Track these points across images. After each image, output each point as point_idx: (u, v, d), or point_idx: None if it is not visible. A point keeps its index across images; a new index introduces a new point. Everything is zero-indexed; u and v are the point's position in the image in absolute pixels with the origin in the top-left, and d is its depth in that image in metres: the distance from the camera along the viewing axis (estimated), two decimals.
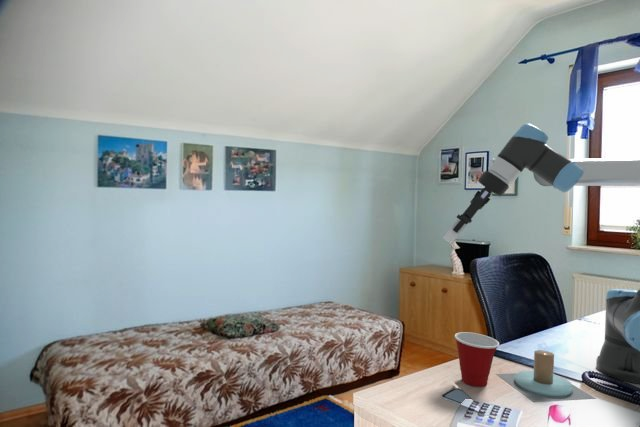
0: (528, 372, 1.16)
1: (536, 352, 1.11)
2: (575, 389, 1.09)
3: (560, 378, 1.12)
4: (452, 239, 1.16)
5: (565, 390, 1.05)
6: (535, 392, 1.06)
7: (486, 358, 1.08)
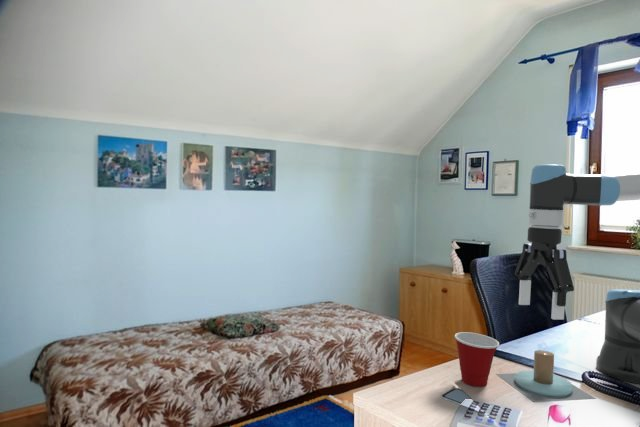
0: (528, 372, 1.16)
1: (536, 352, 1.11)
2: (575, 389, 1.09)
3: (560, 378, 1.12)
4: (562, 314, 1.04)
5: (565, 390, 1.05)
6: (535, 392, 1.06)
7: (486, 358, 1.08)
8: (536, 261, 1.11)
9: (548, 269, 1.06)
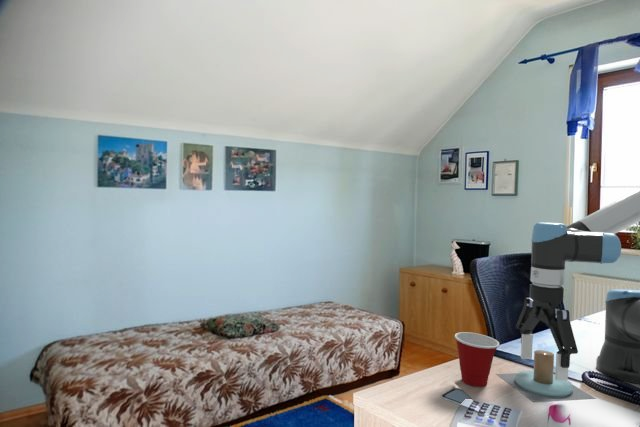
0: (528, 372, 1.16)
1: (536, 352, 1.11)
2: (575, 389, 1.09)
3: None
4: (566, 374, 1.04)
5: (565, 390, 1.05)
6: (535, 392, 1.06)
7: (486, 358, 1.08)
8: (538, 318, 1.11)
9: (551, 329, 1.06)
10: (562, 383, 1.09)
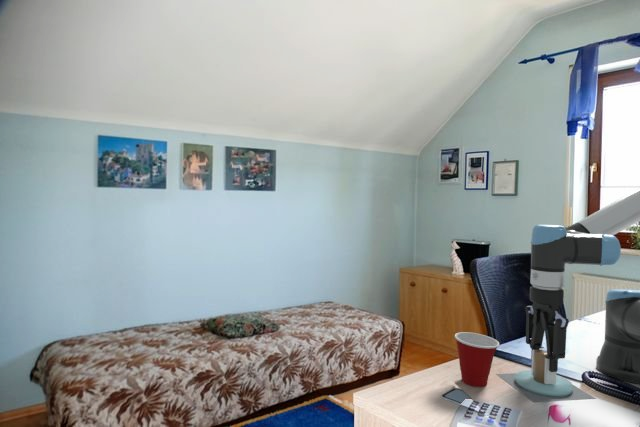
0: (528, 371, 1.16)
1: (536, 352, 1.11)
2: (575, 389, 1.09)
3: (560, 378, 1.12)
4: (554, 378, 1.08)
5: (565, 390, 1.05)
6: (535, 392, 1.06)
7: (486, 358, 1.08)
8: (539, 320, 1.11)
9: (546, 332, 1.08)
10: (562, 383, 1.09)
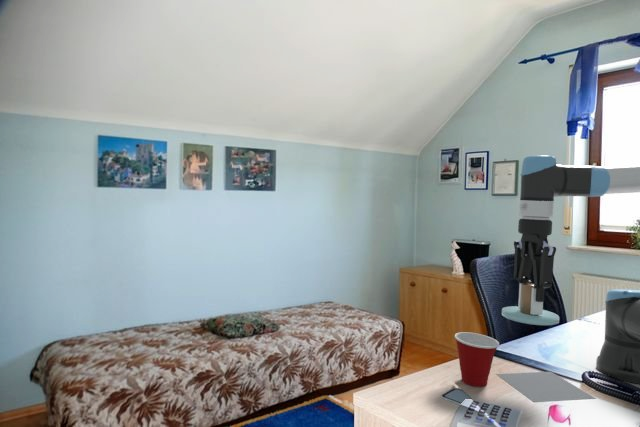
0: (515, 307, 1.16)
1: (523, 284, 1.11)
2: (575, 389, 1.09)
3: (547, 311, 1.12)
4: (540, 309, 1.08)
5: (551, 319, 1.05)
6: (521, 321, 1.06)
7: (486, 358, 1.08)
8: (527, 253, 1.11)
9: (533, 263, 1.08)
10: (549, 315, 1.09)
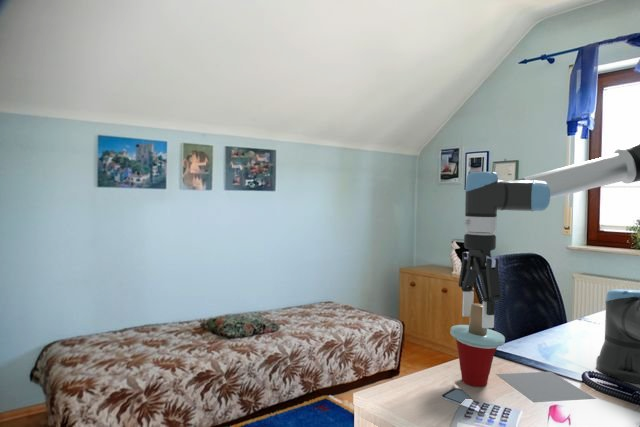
0: (466, 325, 1.17)
1: (473, 304, 1.12)
2: (575, 389, 1.09)
3: (495, 332, 1.14)
4: (492, 322, 1.06)
5: (496, 341, 1.07)
6: (466, 341, 1.07)
7: (486, 358, 1.08)
8: (473, 267, 1.12)
9: (481, 277, 1.08)
10: (495, 336, 1.10)
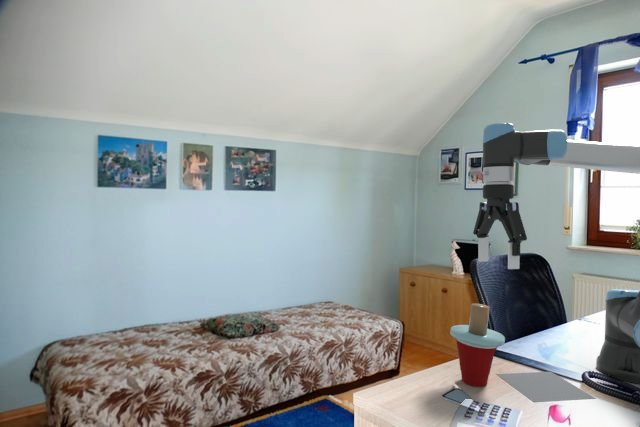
0: (466, 326, 1.17)
1: (473, 304, 1.12)
2: (575, 389, 1.09)
3: (495, 332, 1.14)
4: (517, 263, 1.09)
5: (496, 341, 1.06)
6: (466, 341, 1.07)
7: (486, 358, 1.08)
8: (492, 217, 1.16)
9: (503, 222, 1.11)
10: (495, 336, 1.10)
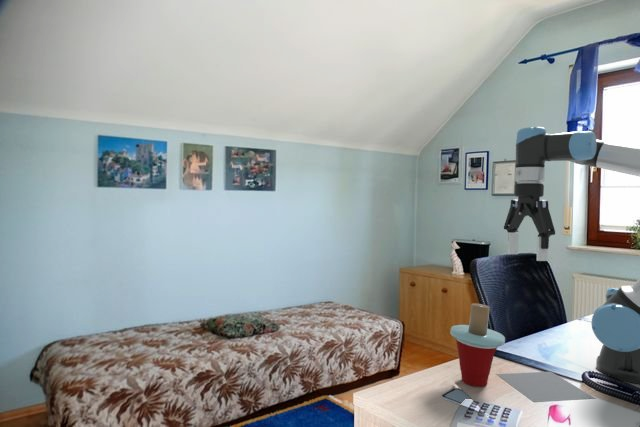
0: (466, 326, 1.17)
1: (473, 304, 1.12)
2: (575, 389, 1.09)
3: (495, 332, 1.14)
4: (545, 256, 1.19)
5: (496, 341, 1.06)
6: (466, 341, 1.07)
7: (486, 358, 1.08)
8: (522, 213, 1.26)
9: (533, 218, 1.21)
10: (495, 336, 1.10)
